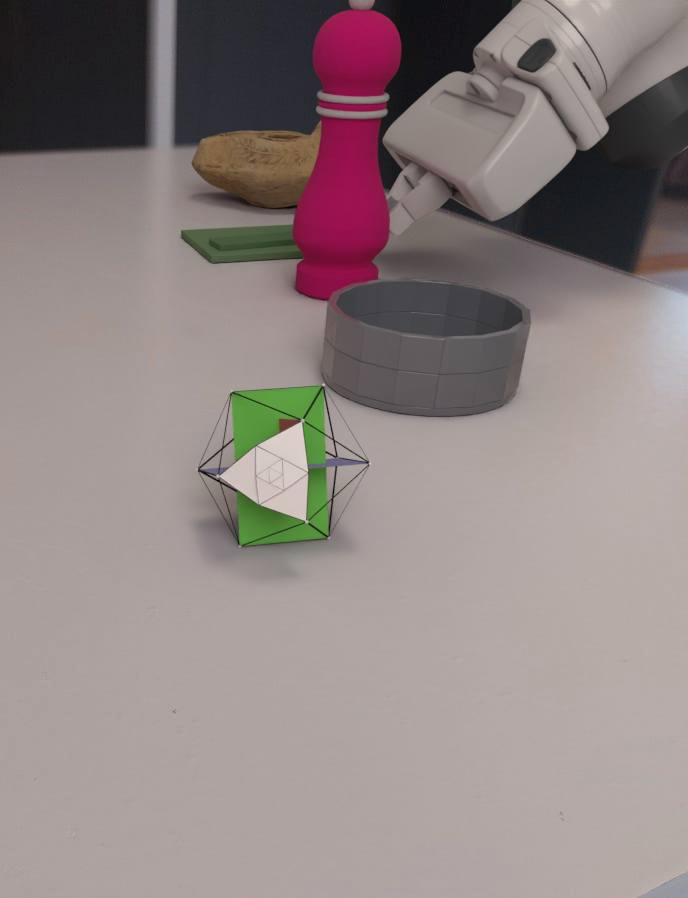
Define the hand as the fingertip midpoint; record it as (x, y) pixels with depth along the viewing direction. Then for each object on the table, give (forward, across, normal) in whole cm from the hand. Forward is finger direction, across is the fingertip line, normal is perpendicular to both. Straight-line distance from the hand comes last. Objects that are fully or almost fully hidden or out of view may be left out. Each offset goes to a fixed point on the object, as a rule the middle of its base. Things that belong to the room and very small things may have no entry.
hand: (383, 225), depth 78 cm
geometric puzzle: (+15, +38, -8) cm, 42 cm away
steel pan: (+6, +20, +1) cm, 21 cm away
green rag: (+7, -13, -1) cm, 15 cm away
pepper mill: (+6, +1, +1) cm, 6 cm away
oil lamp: (+5, -30, +2) cm, 31 cm away
